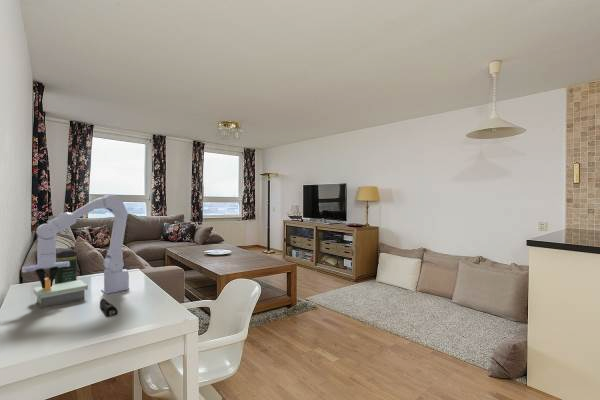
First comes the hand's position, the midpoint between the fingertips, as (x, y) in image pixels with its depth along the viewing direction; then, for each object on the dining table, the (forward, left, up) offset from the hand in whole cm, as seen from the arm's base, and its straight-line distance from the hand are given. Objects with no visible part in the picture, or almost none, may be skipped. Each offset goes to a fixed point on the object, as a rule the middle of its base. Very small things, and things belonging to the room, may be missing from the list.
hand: (46, 286), depth 121 cm
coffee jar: (-9, -19, -7) cm, 22 cm away
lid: (-4, 0, -3) cm, 5 cm away
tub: (-4, 0, -7) cm, 8 cm away
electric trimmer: (-14, +26, -7) cm, 30 cm away
